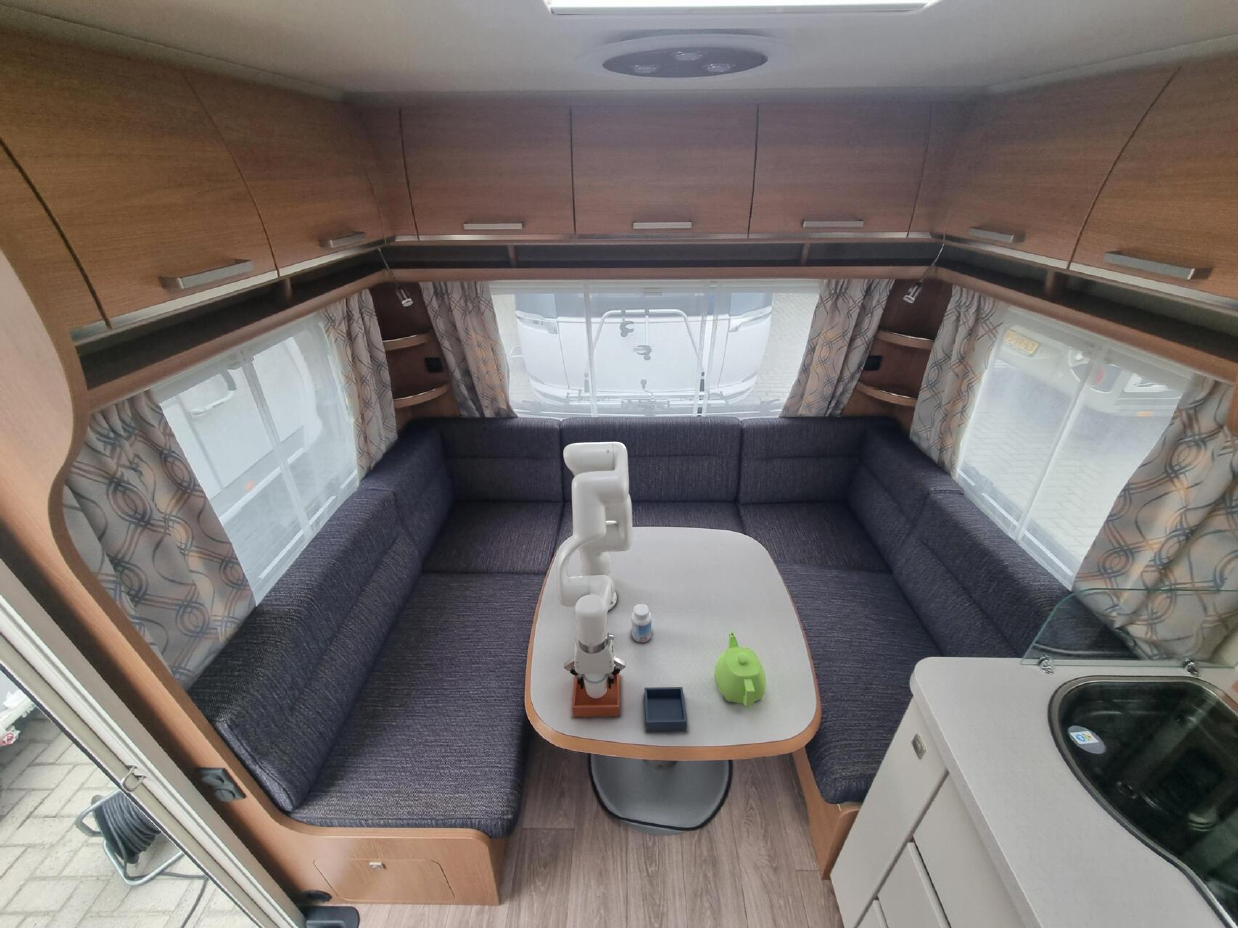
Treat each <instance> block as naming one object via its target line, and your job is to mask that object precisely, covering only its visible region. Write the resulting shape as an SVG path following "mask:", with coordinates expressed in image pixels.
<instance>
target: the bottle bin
mask: <svg viewBox="0 0 1238 928" xmlns="http://www.w3.org/2000/svg"><path fill="white" fill-rule="evenodd" d="M643 689H644V690H643V691H644V693H643V694H644V717H645V732H687V726H688V725H687V724H688V721H687V720H688V719H687V712H686V705H685V704H686V703H685V695H684V688H683V686H667V687H666V686H661V687H660V686H658V687H657V686H656V687H655V686H654V687H644V688H643Z"/></svg>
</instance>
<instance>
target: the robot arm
mask: <svg viewBox="0 0 1238 928" xmlns="http://www.w3.org/2000/svg"><path fill="white" fill-rule="evenodd" d="M562 455H563V456H562V457H563V461H564V463H565V465H566V467H567V468H568V469H569V471H571V473H572V475H573V478H572V481H571V507H572V535H571V537H570V539H569V540H568V542H566V543H565V545H564V546H563V548H562V550H561V551H560V554H559V556H558V559H557V564H556V594H557V599H558V602H559V603H560V605H561V606H563V607H568V608H569V607H570V608H571V607H572V608H573V607H574V617H575V618H574V619H575V629H576V638H575V639H574V640H575V641H574V649H573V650H574V652H573V657H572V658H570V659H569V660H567V661H565V662H564V664H563V669H564V670H566V671H567V672H569V673H570V674H571V675H573V676H574V677H575V676H576V679H578V684H580V687H581V689H583V688H584V680H583V676H582V675H583V674H607V675H608V688H609V689H611V684H614V676H615V675H617V674H618V673H619V674H620V673H621V671H623V670H624V669H625V668H626V667H627V666H626V661H624V660H622V659H621V658H618V657H617V656H615V651H614V650H615V649H614V644H613V641H612V640H614V639H615V637H614V633H610V632H609V631H608V612H609V611H610V610H611V609H613V607H614V606H615V605H616V603H617V600H618V599H617V592H616V590H615V582H614V580H613V578H612V567H611V563H612V562H611V556H610V554H609V553H617V552H618V553H619V552H626V551H628V550H630V549H631V548H632V546H633V541H634V540H633V536H634V534H633V532H634V531H633V505H632V499H631V495H630V478H629V477H630V476H629V475H630V474H629V457H628V456H629V455H628V449H627V447H626V446H625V444H623V443H622V442H619V441H604V442H603V441H601V442H575V443H570V444H568V445H566V446H565V447H564V449H563V453H562ZM576 551H578V554H579V560H580V561H579V562H580V571H581V572H580V573H581V575H569V570H568V569H569V563H570V560H571V558H572V556H573V555H574V554H575V552H576Z"/></svg>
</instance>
